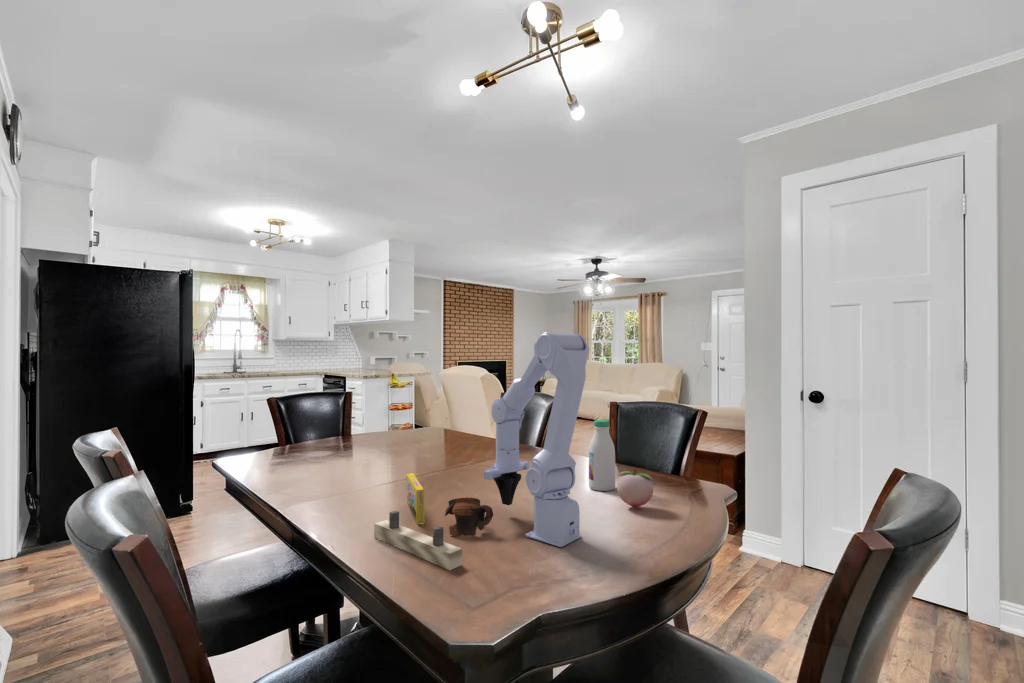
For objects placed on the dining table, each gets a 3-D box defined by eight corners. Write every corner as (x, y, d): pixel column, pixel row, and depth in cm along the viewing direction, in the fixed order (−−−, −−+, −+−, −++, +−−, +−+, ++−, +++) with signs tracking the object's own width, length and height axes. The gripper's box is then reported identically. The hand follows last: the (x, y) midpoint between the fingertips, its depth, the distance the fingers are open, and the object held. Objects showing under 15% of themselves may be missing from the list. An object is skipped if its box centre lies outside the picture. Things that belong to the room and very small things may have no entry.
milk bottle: (619, 487, 143) (618, 420, 143) (609, 493, 136) (609, 422, 137) (594, 483, 147) (594, 418, 148) (584, 489, 140) (584, 420, 141)
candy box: (405, 505, 125) (406, 473, 125) (413, 504, 126) (414, 472, 126) (415, 525, 110) (416, 489, 110) (425, 524, 111) (425, 488, 111)
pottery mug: (436, 538, 103) (437, 499, 108) (457, 544, 111) (457, 507, 115) (485, 530, 100) (484, 490, 104) (504, 537, 107) (502, 499, 111)
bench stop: (461, 565, 89) (462, 532, 89) (449, 570, 87) (450, 536, 87) (386, 533, 104) (386, 505, 105) (374, 537, 102) (374, 509, 102)
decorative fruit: (615, 511, 120) (614, 471, 121) (617, 502, 128) (617, 464, 128) (653, 515, 118) (653, 474, 118) (654, 505, 125) (654, 466, 126)
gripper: (514, 442, 125) (513, 494, 125) (474, 450, 114) (474, 507, 114) (535, 445, 121) (535, 499, 120) (496, 454, 110) (496, 514, 109)
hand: (507, 504), depth 117 cm, fingers closed
